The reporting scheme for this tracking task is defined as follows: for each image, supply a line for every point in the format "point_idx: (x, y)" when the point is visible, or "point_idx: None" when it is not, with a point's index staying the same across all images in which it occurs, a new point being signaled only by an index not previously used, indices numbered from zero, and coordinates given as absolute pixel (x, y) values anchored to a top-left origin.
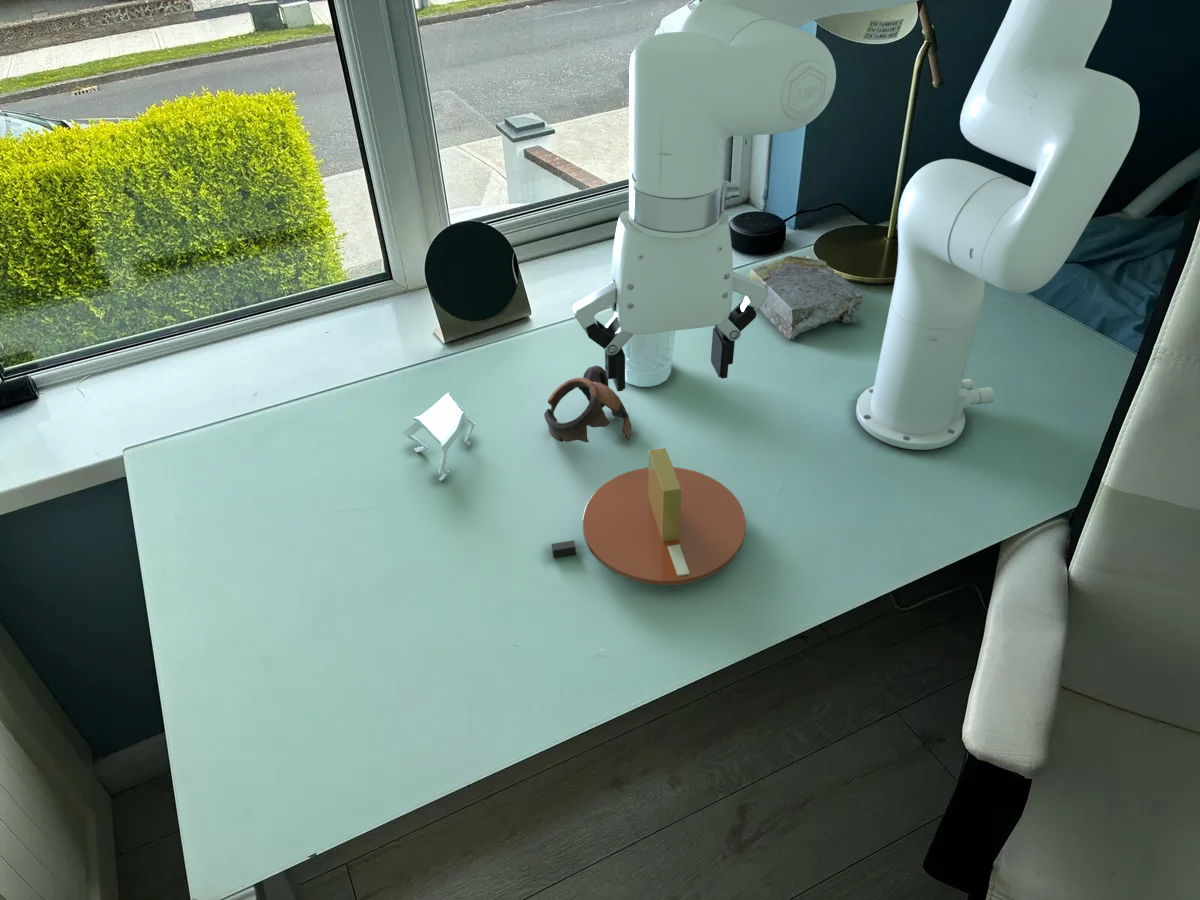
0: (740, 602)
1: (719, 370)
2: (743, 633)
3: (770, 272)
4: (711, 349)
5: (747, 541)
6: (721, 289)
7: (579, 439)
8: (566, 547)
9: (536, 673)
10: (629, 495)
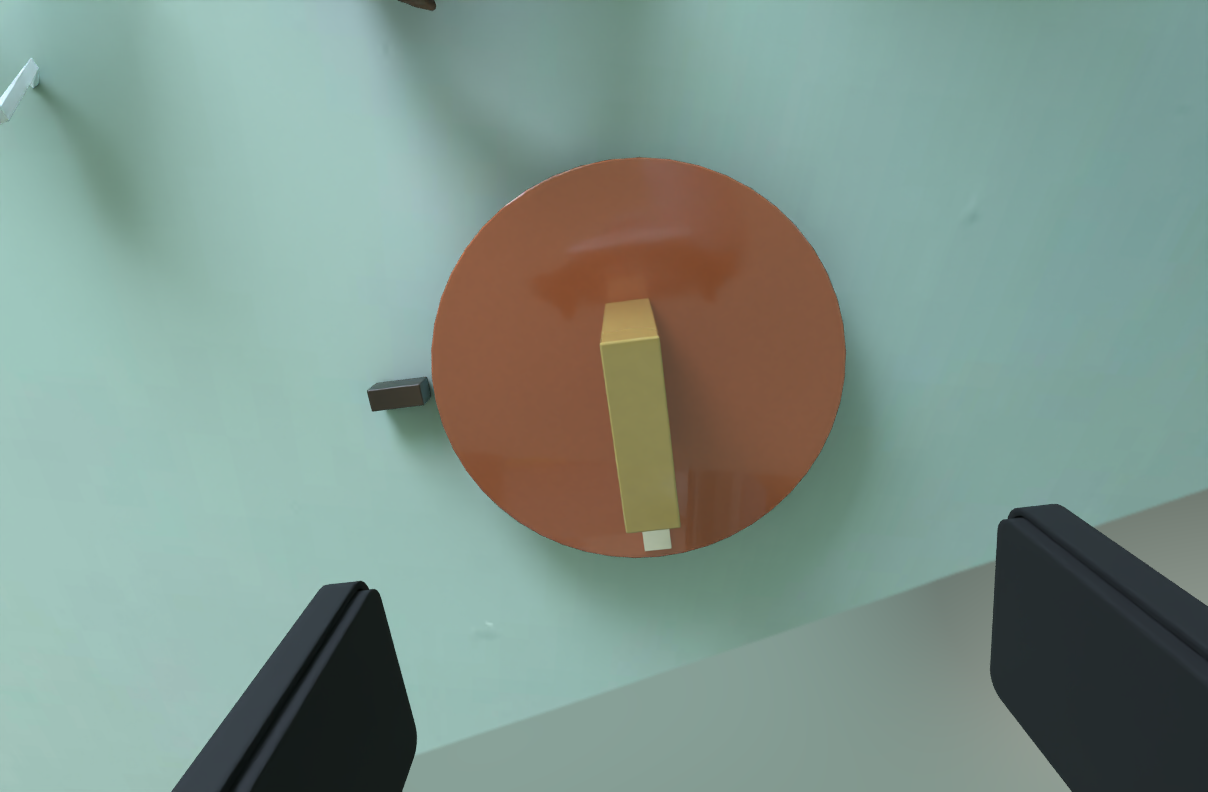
0: (765, 549)
1: (1020, 715)
2: (752, 615)
3: None
4: (1061, 562)
5: None
6: None
7: (402, 1)
8: (402, 405)
9: None
10: (555, 278)
